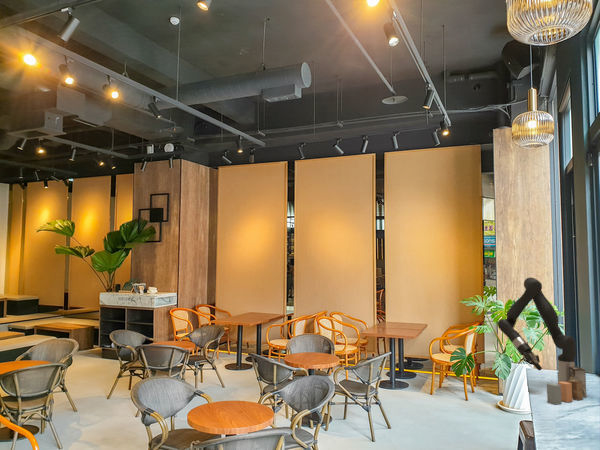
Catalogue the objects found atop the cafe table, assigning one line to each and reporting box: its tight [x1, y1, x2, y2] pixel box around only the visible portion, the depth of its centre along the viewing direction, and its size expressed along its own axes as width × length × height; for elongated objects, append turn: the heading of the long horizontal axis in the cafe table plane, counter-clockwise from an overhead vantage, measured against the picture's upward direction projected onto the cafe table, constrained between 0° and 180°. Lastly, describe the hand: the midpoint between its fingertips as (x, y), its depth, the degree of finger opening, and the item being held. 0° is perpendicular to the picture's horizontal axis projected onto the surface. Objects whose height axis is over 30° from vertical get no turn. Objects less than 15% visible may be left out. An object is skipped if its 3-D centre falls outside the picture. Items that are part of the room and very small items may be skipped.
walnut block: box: [568, 380, 584, 401], centre depth 265 cm, size 5×5×10 cm
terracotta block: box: [557, 381, 573, 403], centre depth 260 cm, size 5×5×10 cm
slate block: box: [546, 382, 563, 405], centre depth 256 cm, size 5×5×10 cm
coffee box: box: [569, 366, 588, 399], centre depth 273 cm, size 9×6×16 cm
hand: (540, 369), depth 274 cm, fingers closed
